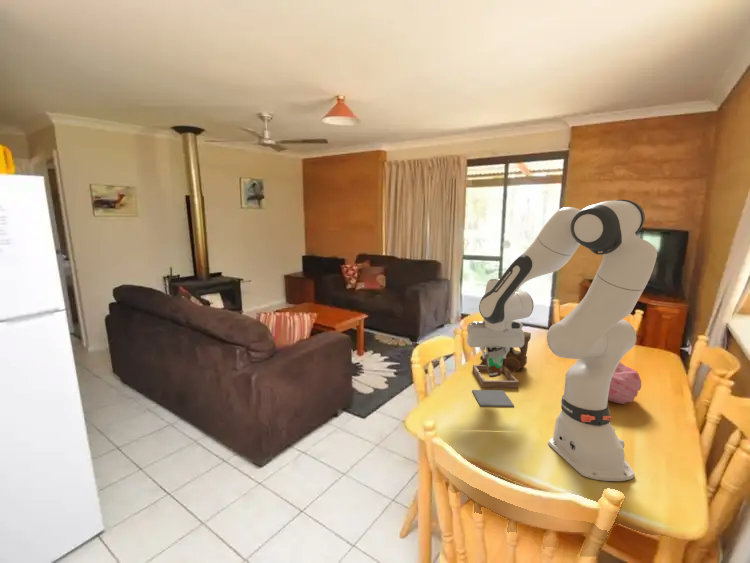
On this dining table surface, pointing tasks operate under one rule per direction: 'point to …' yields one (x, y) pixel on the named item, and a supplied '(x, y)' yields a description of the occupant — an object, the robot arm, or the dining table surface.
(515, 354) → the wooden toy train
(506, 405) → the mat
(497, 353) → the food container
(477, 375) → the brown wooden frame
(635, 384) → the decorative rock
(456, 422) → the dining table surface
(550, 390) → the dining table surface
